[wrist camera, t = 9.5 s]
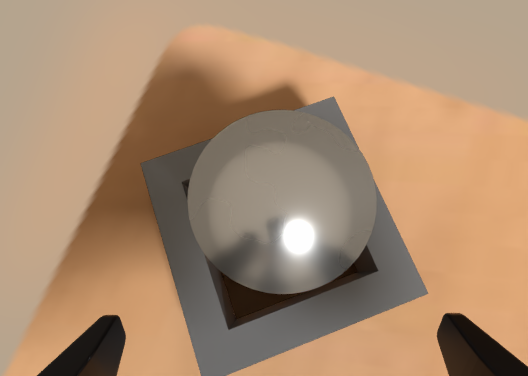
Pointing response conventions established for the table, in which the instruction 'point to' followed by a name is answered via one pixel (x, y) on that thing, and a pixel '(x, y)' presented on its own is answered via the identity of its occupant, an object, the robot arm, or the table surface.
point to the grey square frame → (283, 313)
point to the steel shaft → (282, 201)
